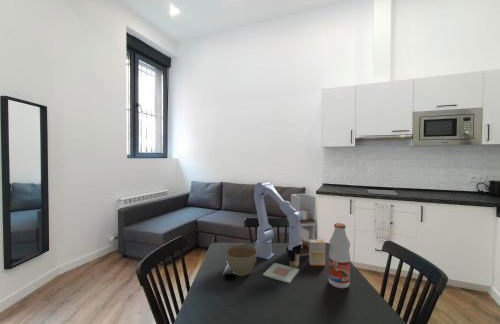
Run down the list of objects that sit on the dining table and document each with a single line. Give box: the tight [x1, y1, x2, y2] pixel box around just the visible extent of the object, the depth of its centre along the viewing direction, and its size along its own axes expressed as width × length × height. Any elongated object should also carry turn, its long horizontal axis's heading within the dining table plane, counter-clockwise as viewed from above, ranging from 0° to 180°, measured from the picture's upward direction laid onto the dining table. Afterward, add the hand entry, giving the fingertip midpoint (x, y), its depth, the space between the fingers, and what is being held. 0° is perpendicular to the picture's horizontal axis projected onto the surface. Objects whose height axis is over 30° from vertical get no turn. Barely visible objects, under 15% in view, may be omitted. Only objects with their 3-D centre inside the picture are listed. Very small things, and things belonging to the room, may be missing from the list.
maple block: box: [289, 254, 300, 269], centre depth 129 cm, size 4×4×6 cm
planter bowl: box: [225, 244, 257, 277], centre depth 122 cm, size 16×16×11 cm
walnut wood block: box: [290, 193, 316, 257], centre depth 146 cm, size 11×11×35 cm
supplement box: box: [308, 238, 326, 267], centre depth 130 cm, size 8×5×13 cm, turn 84°
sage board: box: [262, 262, 300, 284], centre depth 121 cm, size 14×14×1 cm
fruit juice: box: [328, 222, 351, 289], centre depth 111 cm, size 9×9×28 cm
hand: (294, 258), depth 129 cm, fingers open, 7 cm apart
